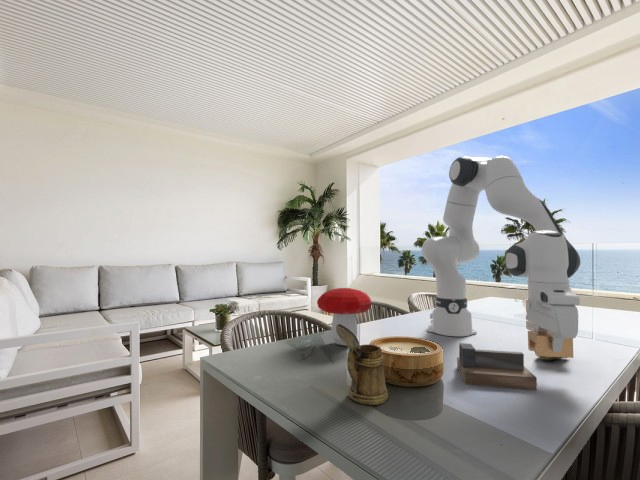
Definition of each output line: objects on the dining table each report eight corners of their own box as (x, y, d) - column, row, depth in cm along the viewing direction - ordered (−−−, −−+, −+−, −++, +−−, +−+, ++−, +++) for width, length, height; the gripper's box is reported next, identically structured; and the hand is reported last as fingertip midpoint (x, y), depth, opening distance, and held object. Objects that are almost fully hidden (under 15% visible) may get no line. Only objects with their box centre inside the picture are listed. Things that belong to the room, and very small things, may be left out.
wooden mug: (325, 400, 76) (325, 320, 76) (368, 385, 84) (368, 313, 84) (352, 416, 69) (352, 327, 69) (396, 398, 77) (395, 319, 77)
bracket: (457, 367, 96) (456, 339, 96) (518, 372, 93) (518, 343, 93) (465, 384, 85) (465, 352, 85) (536, 390, 81) (536, 356, 81)
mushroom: (379, 341, 123) (379, 287, 124) (361, 356, 107) (361, 293, 107) (330, 335, 132) (330, 284, 133) (307, 347, 116) (307, 289, 116)
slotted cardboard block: (528, 349, 89) (527, 330, 90) (563, 351, 88) (562, 331, 88) (537, 355, 84) (536, 335, 84) (574, 358, 82) (574, 337, 82)
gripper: (519, 288, 97) (520, 336, 97) (552, 298, 77) (554, 358, 77) (544, 288, 96) (545, 337, 95) (583, 298, 76) (585, 360, 75)
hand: (549, 347), depth 86 cm, fingers closed on slotted cardboard block, 6 cm apart
